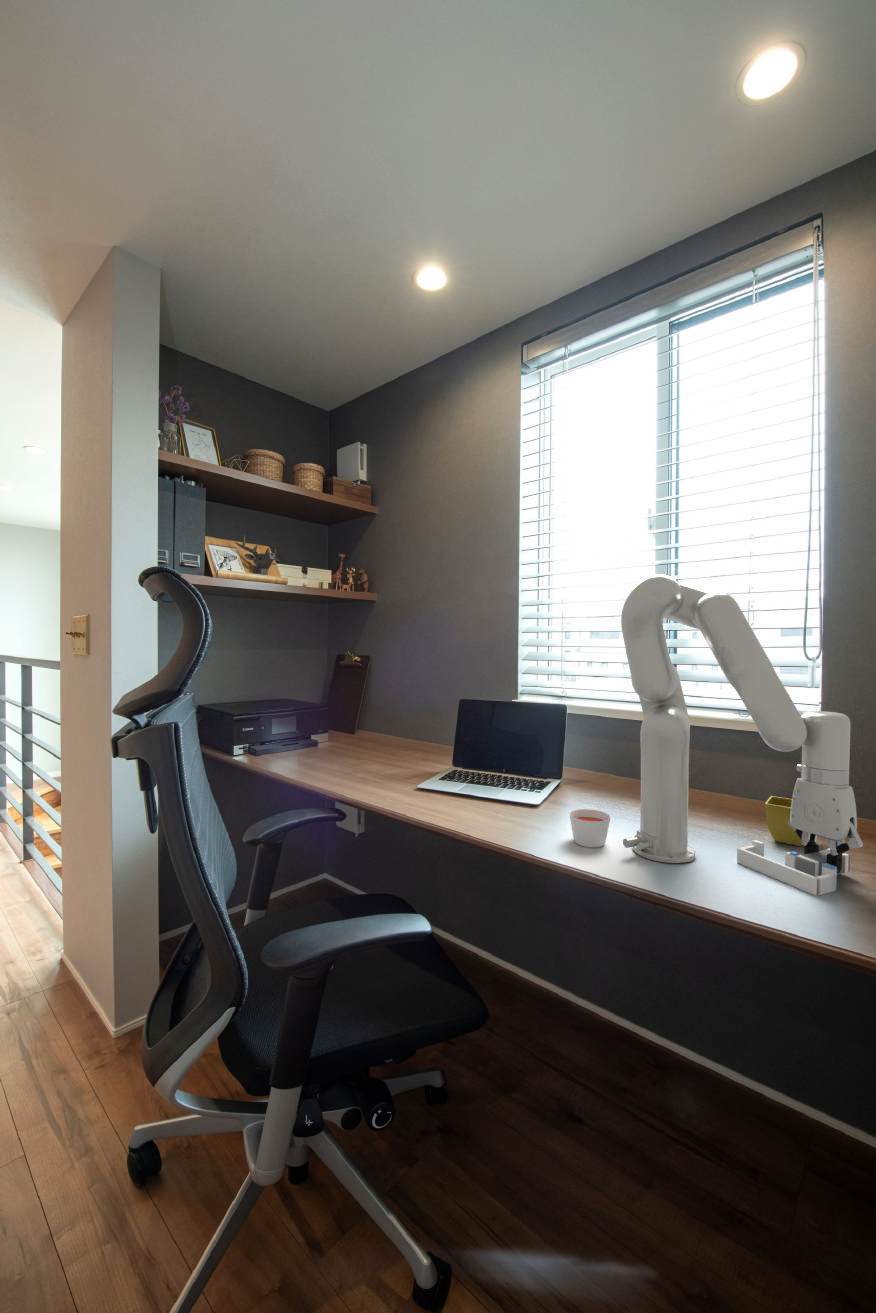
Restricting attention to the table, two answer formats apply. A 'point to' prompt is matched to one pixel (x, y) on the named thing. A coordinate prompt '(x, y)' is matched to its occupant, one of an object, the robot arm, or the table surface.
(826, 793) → the robot arm
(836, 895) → the table surface
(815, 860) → the white-capped gray brick
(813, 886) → the white arch handle
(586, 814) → the candle
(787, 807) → the flower pot
